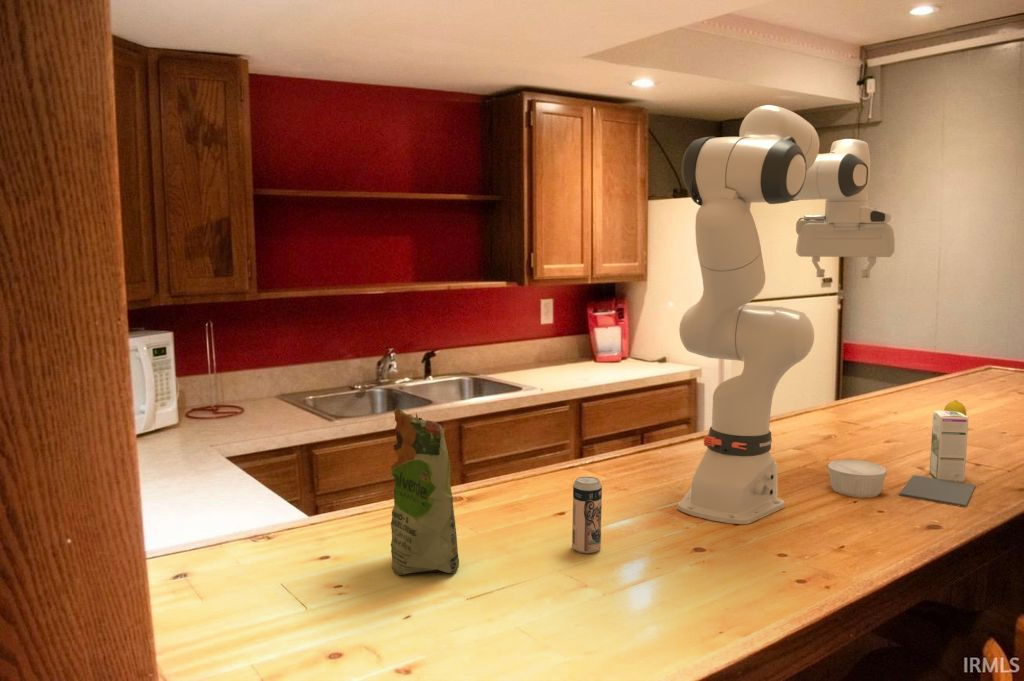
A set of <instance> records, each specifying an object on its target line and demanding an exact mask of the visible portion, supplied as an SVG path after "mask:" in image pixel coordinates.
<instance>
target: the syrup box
mask: <svg viewBox="0 0 1024 681" xmlns="http://www.w3.org/2000/svg"><path fill="white" fill-rule="evenodd" d="M932 414H933V415H932V427H931V428H932V429H931V443H930V444H931V445H930V459H929V474H930V475H931V476H933V477H932V478H936V479H942V480H948V481H954V482H955V481H956V482H957V481H958V482H961V483H964V482H965V479H966V478H965V477H966V475H965V474H966V466H967V465H966V464H967V451H968V450H967V449H968V448H967V447H968V434H969V433H968V429H969V417H968V416H967V415H966V416H965V415H964V414H962V413H960V412H956V411H944V410H933V412H932Z"/></svg>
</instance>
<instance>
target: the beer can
mask: <svg viewBox="0 0 1024 681" xmlns="http://www.w3.org/2000/svg"><path fill="white" fill-rule="evenodd" d="M572 488H573V489H572V530H571V533H572V534H571V547H572V549H573V550H574V551H576V552H577V553H580V554H586V555H587V554H590V555H591V554H594V553H596V552H598V551H599V550H601V547H602V546H601V545H602V538H601V537H602V508H603V507H602V506H603V504H602V503H603V502H602V501H603V499H602V498H603V486H602V484H601V481H600V479H599V477H594V476H585V475H584V476H579V477H576V478H575V481H574V482H573V483H572Z"/></svg>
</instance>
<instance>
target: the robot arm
mask: <svg viewBox="0 0 1024 681" xmlns="http://www.w3.org/2000/svg"><path fill="white" fill-rule="evenodd" d="M738 133H739V136H723V137H722V136H721V137H716V136H704V137H701V138H698V139H694V140H693V141H691V143H690V144H689V146H688V147H687V148H686V150H685V152H684V154H683V157H682V158H681V166H680V167H681V168H680V169H681V170H680V171H681V177H682V181H683V183H684V187H685V188H686V190H687V192H689V196H690V198H691V200H692V201H693V203H695V204H696V205H698V206H700V207H699V208H698V210H697V212H696V213H695V226H694V228H695V244H696V252H697V258H698V262H699V266H700V271H701V278H702V286H703V290H702V291H703V292H702V296H701V297H700V299H699V300H698V301H697V302H696V303H695V304H693V305H692V306H690V307H689V308H688V309H687V310H686V311H685V312H684V314H683V316H682V317H681V320H680V323H679V331H678V332H679V337H680V341H681V344H682V345H683V347H684V349H685V350H686V351H688V352H689V353H692V354H694V355H695V354H696V355H699V356H702V357H705V358H708V359H715V360H716V359H717V360H729V361H739V362H740V361H741V362H743V369H742V372H741V374H739V375H736V376H733V377H731V378H729V379H726V380H725V381H722V382H721V383H720V384H719V385H717V386H716V388H715V389H714V392H713V394H712V414H711V426H710V427H709V432H708V433H707V434H706V435H705V436H704V438H703V445H704V446H705V447H706V450H705V451H704V454H703V455H702V458H701V460H700V462H699V464H698V466H697V468H696V470H695V473H694V475H693V478H692V481H691V482H692V483H691V487H690V489H689V490H688V491H687V492H686V494H685V495H684V497H683V498H682V499H681V501H680V502H679V504H678V506H677V509H678V511H680V512H682V513H684V514H687V515H690V516H693V517H696V518H701V519H705V520H708V521H714V522H722V523H724V524H725V523H727V524H737V525H747V524H751V523H753V522H755V521H757V520H759V519H762V518H764V517H766V516H769V515H771V514H773V513H775V512H777V511H780V510H782V509H785V507H786V503H785V501H784V500H783V499H781V498H780V497H778V496H779V494H778V493H779V490H778V489H779V488H778V482H779V481H778V479H779V478H778V476H779V475H778V473H779V472H778V463H777V462H776V461H775V459H774V458H773V456H772V454H771V453H770V450H772V442H773V441H772V432H771V430H770V427H771V426H770V425H771V412H772V411H771V410H772V404H773V397H774V393H775V390H776V388H777V386H778V384H779V382H780V380H781V378H783V376H784V375H785V374H786V373H787V372H788V371H789V370H790V369H791V368H792V367H794V366H795V365H796V364H798V363H800V362H801V361H802V360H804V359H805V358H806V357H807V356H808V355H809V354H810V352H811V350H812V348H813V346H814V341H815V329H814V326H813V323H812V321H811V320H810V318H809V317H808V316H807V314H806V313H804V312H802V311H798V310H795V309H791V308H787V307H783V306H771V305H770V306H769V305H752V304H751V305H749V303H750V302H752V300H754V299H755V298H757V297H758V296H759V295H760V294H761V292H762V290H763V289H764V286H765V283H766V271H765V266H764V259H763V254H762V248H761V242H760V238H759V237H760V236H759V233H758V229H757V225H756V222H755V219H754V217H753V214H752V213H751V205H752V203H767V204H768V205H779V204H786V203H789V202H794V201H796V202H797V201H804V200H805V201H806V200H807V201H810V200H811V201H812V200H825V204H824V207H825V208H824V214H817V215H816V214H815V215H809V214H808V215H803V216H801V217H800V218H798V220H797V221H796V223H795V225H796V226H795V232H796V234H797V240H796V247H795V254H797V256H799V257H802V258H803V257H805V258H807V257H808V258H810V257H812V258H811V262H812V265H813V266H814V268H815V269H816V278H825V273H826V272H825V271H826V270H825V269H824V268H822V269H821V267H820V265H819V263H820V262H821V258H823V257H824V258H829V257H831V258H833V257H835V258H842V257H843V258H866V259H867V262H868V264H867V266H866V267H865V268H864V269H861V275H860V277H861V278H865V279H868V278H870V276H871V270H872V269H873V267H874V265H876V263H877V258H890V257H892V256H893V255H894V253H895V248H896V247H895V232H894V227H892V226H891V225H890V221H891V219H892V218H891V214H890V212H886V211H883V210H879V209H877V208H872V207H871V206H869V195H868V187H869V184H870V182H871V156H870V148H869V144H868V143H867V142H866V141H864V140H863V139H860V138H840V139H837V140H835V141H833V142H832V144H831V146H830V151H829V152H827V153H819V151H820V138H819V134H818V132H817V131H816V129H815V127H814V126H813V125H812V124H811V123H810V122H809V121H807V120H806V119H805V118H803V117H802V116H801V115H799V114H797V113H795V112H794V111H792V110H789V109H787V108H785V107H781V106H777V105H772V104H766V105H761V106H758V107H755V108H754V109H752V110H751V111H750V112H748V113H747V115H746V116H745V117H744V119H743V120H742V121H741V124H740V127H739V131H738Z"/></svg>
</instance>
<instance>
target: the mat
mask: <svg viewBox="0 0 1024 681" xmlns="http://www.w3.org/2000/svg"><path fill="white" fill-rule="evenodd" d="M974 488H975V489H976V484H971V483H966V482H965V483H964V482H954V481H948V480H942V479H936V478H935V477H929V476H923V475H917V474H912V475H911V477H910V478H909V480H908V481H907V482H906V483H905V484H904V486H903V487H902V489H901V490H900V491H899V494H898V496H900V497H905V498H910V499H916V500H923V501H927V502H933V503H938V502H939V503H940V504H944V503H946V504H945V505H950V504H952V505H951V506H955V505H960V506H959V507H961V506H967V507H968V504H969V502H970V500H971V498H972V496H973V493H974V491H975V489H974ZM971 495H972V496H971ZM970 497H971V498H970ZM969 499H970V500H969ZM939 503H938V504H939Z"/></svg>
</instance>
